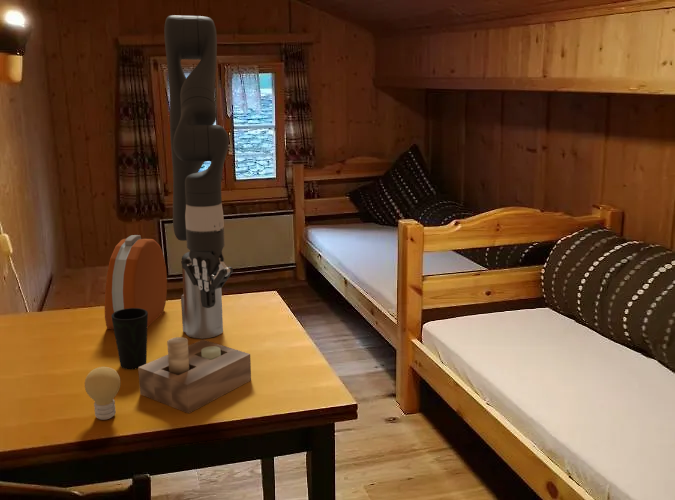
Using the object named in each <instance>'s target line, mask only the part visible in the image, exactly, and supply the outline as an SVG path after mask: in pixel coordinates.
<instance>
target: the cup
mask: <svg viewBox="0 0 675 500" xmlns="http://www.w3.org/2000/svg"><path fill="white" fill-rule="evenodd" d="M111 317H112V322H113V327H114V329H113V332H114V337H115V343H116V349H117V355H118V359H119V364H120V368H122V369H124V370H138V367H140V366H142V365H144V364H147V355H148V354H147V351H148V349H147V348H148V346H147V345H148V327H147V321H148V312H147V311H146V310H144V309H140V308H128V309H122V310H118V311H116V312H114V313H113V314H112V316H111Z"/></svg>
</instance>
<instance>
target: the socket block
mask: <svg viewBox="0 0 675 500" xmlns="http://www.w3.org/2000/svg"><path fill="white" fill-rule="evenodd" d="M209 346H216V347H219V348H220V349H221V356H219V357H217V358H215V359H212V360H209V359H206V358H203V357H202V355H201V350H202V349H203V348H205V347H209ZM188 353H189V371H187V372H185V373H182V374H180V375H176V374H173V373H170V372H169V362H168V354H166V355H163V356H161V357H158V358H157V359H154V360H152V361H150V362H146V364H144V365H142V366H140V367H138V369H137V372H138V380H139V381H138V383H139V394H140V395H141V396H143V397H146V398H148V399H151V400H154V401H156V402H158V403H161V404H164V405H166V406H169V407H171V408H174V409H176V410H179V411H181V412H184V413H187V414H190V413H192V412H194V411H196V410H198V409H200V408H201V407H203V406H206V405H207V404H209V403H211V402H213V401H214V400H217V399H218V398H221V397H222V396H225V395H226V394H228V393H230V392H232V391H233V390H235V389H238V388H239V387H241V386H243V385H244V384H247V383H249V382H251V381H252V365H251V364H252V363H251V362H252V361H251V353H248V352H245V351H242V350H238V349H236V348H231V347H228V346H225V345H222V344H218V343H216V342H213V341H209V340H206V339H201V340H198V341H195V342H194V343H191V344H188Z"/></svg>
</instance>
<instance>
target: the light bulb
mask: <svg viewBox="0 0 675 500" xmlns="http://www.w3.org/2000/svg"><path fill="white" fill-rule="evenodd" d="M120 388H121V377H120V375H119V373H118V371H117V370H116V369H114V368H112V367H108V366H98V367H96V368H94V369H92V370H91V371H89V372H88V374H87V375H86V377H85V381H84V389H85V393H86V394H87V396H89V397H90V399H91V400H93V401H94V403H93V406H94V416H95V417H96V418H97V419H98V420H101V421H102V420H103V421H106V420H109V419H112V418H113V417H114V416H115V415H116V403H115V402H116V401H115V399H114V398H116V396H117V394H118V392H119V390H120Z"/></svg>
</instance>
